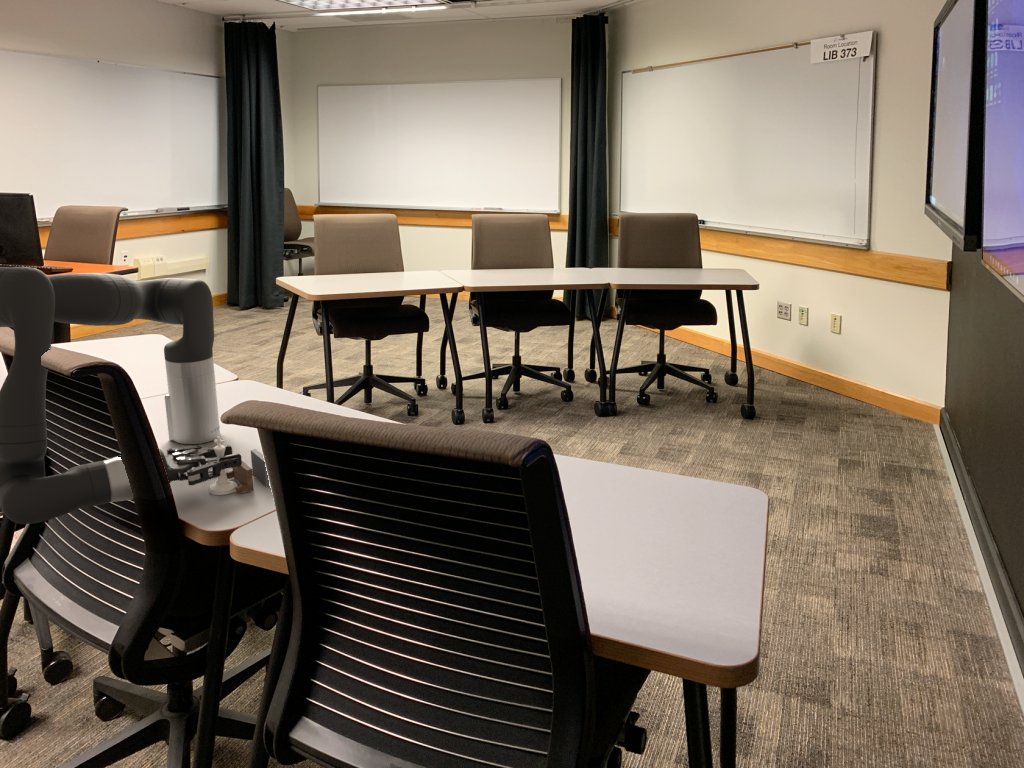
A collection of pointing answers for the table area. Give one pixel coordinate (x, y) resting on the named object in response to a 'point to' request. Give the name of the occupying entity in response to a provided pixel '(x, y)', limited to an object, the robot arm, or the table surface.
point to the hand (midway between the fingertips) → (235, 454)
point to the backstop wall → (259, 467)
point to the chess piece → (222, 475)
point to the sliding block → (242, 477)
